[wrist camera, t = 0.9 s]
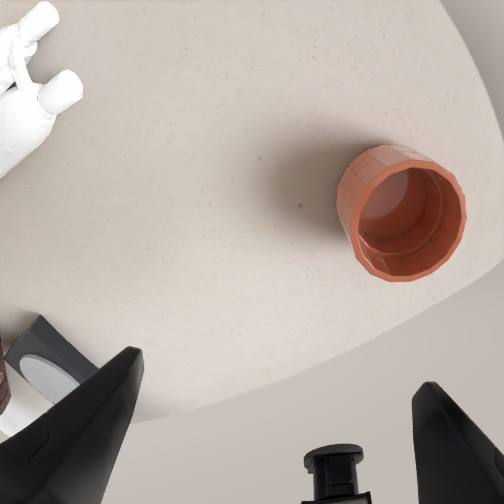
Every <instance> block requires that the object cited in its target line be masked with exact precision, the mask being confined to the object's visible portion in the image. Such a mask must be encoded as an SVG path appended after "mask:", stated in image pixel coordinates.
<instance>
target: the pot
mask: <svg viewBox="0 0 504 504" xmlns="http://www.w3.org/2000/svg"><path fill="white" fill-rule="evenodd" d="M336 209H337V212H338V215H339V219H340V222H341V225H342V227H343V229H344V232H345V234H346V236H347V238H348V241H349V243H350V245H351V248H352V250H353V252H354V255H355V257H356V259H357V260H358V261H359V262H360V263H361V264H362V265H363V266H364V268H365V269H366V270H367V271H368V272H369V273H370V274H372V275H374V276H377V277H379V278H381V279H384V280H386V281H389V282H410V281H414V280H416V279H419V278H422V277H424V276H427V275H429V274H431V273H433V272H434V271H435V270H437V269H438V268H439V267H440V266H441V265H443V264H444V263H445V262H446V261H447V260H448V259H449V258H450V257H451V255H452V254H453V252H454V251H455V249H456V247H457V246H458V244H459V243H460V241H461V239H462V235H463V232H464V228H465V224H466V220H467V212H466V202H465V195H464V193H463V191H462V189H461V187H460V185H459V183H458V182H457V180H456V178H455V176H454V175H453V174H452V173H450V172H449V171H447V170H446V169H445V168H443V167H442V166H440V165H439V164H437V163H436V162H434V161H432V160H430V159H429V158H427V157H425V156H423V155H421V154H419V153H417V152H415V151H413V150H412V149H410V148H408V147H405V146H398V145H389V144H386V145H385V144H384V145H381V146H377V147H374V148H371V149H368V150H365V151H364V152H363V153H362V154H360V155H359V156H358V157H357V158H356V159H355V160H354V161H352V162H351V163H350V164H349V165H348V166H347V168H346V170H345V172H344V174H343V176H342V178H341V180H340V182H339V184H338V187H337V198H336Z"/></svg>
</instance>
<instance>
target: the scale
mask: <svg viewBox="0 0 504 504" xmlns="http://www.w3.org/2000/svg"><path fill="white" fill-rule="evenodd" d="M3 359H4V360H5V361H6V362H7V363H8V364H9V365H10V366H11V367H12V368H13V369H14V370H15V371H16V372H18V373H19V374H20V375H21V376H22V377H23V378H24V379H25V380H26V381H27V382H28V383H30V384H31V386H32V387H33V388H34V389H35V390H36V391H38V392H39V393H40V394H41V395H42V396H44V397H45V398H46V399H48V400H49V401H51V402H52V403H53V404H56V403H58V402H59V401H60V400H61V399H63V398H64V397H65V396H66V395H68V394H69V393H70V392H71V391H73V390H74V389H75V388H76V387H78V386H79V385H80V384H81V383H83V382H84V381H85V380H86V379H88V378H89V377H90V376H91V375H92V374H94V373H95V372H96V371H97V370H99V369H98V368H97V367H95V366H94V365H93V364H92V363H91V362H90V361H88V360H87V359H86V358H85V357H84V356H83V355H82V354H81V353H79V352H78V351H77V350H76V349H75V348H74V347H73V346H72V345H71V344H70V343H69V342H67V341H66V340H65V339H64V338H63V337H62V336H61V335H60V334H59V333H58V332H57V331H56V330H55V329H54V328H53V327H52V326H51V325H50V324H49V323H48V322H47V321H46V320H45V319H44V318H43V317H42V316H41V315H40V316H39V317H38V318H37V319H36V320H35V321H34V322H33V323H32V324H31V325H30V326H29V328H28V329H27V330H26V331H25V332H24V333H23V334H22V335H21V336H20V337H19V338H18V340H17V341H16V342H15V343H14V344H13V345H12V346H11V348H10V349H9V350H8V352H7V353H6V355H5V356H4V357H3Z"/></svg>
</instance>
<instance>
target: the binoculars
mask: <svg viewBox="0 0 504 504" xmlns="http://www.w3.org/2000/svg"><path fill="white" fill-rule="evenodd" d="M58 22H59V15H58V12H57V10H56V9H55V8H54V7H53V6H52V5H51V4H50V3H48V2H45V1H42V2H39V3H38V4H37V5H36V6H35V7H34V8H33V9H32V10H30V11H29V12H28V13H27V14H26V15H24V16H23V17H22V18H21V20H20V22H19V23H18V24H13V25H9V26H5V27H2V28H1V29H0V179H1V178H2V177H3V176H4V175H5V174H6V173H8V172H9V171H10V170H11V169H12V168H13V167H14V166H16V165H17V164H18V163H19V162H20V161H21V160H23V159H24V158H25V157H26V156H27V155H29V154H30V153H31V152H32V151H34V150H35V149H36V148H37V147H39V146H40V145H41V144H42V143H43V142H44V141H45V140H46V138H47V137H48V135H49V134H50V132H51V131H52V128H53V126H54V123H55V120H56V117H57V114H61V113H62V112H64V111H65V110H66V109H67V108H68V107H70V106H71V105H73V104H74V103H76V102H77V101H78V100H80V99H81V98H82V96H83V86H82V83H81V81H80V79H79V78H78V76H77V75H76V74H75V73H74V72H72V71H70V70H63V71H61V72H60V73H59V74H58V75H56V76H55V77H54V78H52V79H51V80H50V81H49V82H47V83H46V84H44V85H43V84H38V83H33V82H32V80H31V79H30V77H29V74H28V71H27V69H26V66H27V64H28V63H29V61H30V60H31V58H32V56H33V55H34V53H35V52H36V50H37V41H38V40H39V39H41V38H42V37H43V36H44V35H45V34H46V33H47V32H48V31H50V30H51V29H52V28H53V27H54V26H56V25H57V24H58ZM14 82H16V84H17V86H15V87H13V88H11V89H9V90H7V89H8V88H9V87H10V86H11V85H12V84H13V83H14ZM6 90H7V91H6Z"/></svg>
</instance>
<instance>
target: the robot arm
mask: <svg viewBox="0 0 504 504" xmlns="http://www.w3.org/2000/svg"><path fill="white" fill-rule="evenodd" d="M143 373H144V361H143V354H142V350H141V349H139V348H136V347H132V346H128V347H126V348H125V349H124V350H122V351H121V352H120V353H119V354H117V355H116V356H115V357H114V358H112V359H111V360H110V361H109V362H107V363H106V364H105V365H104V366H102V367H101V368H100V369H99V370H97V371H96V372H95V373H94V374H92V375H91V376H90V377H89V378H88V379H86V380H85V381H84V382H83V383H81V384H80V385H79V386H78V387H76V388H75V389H74V390H73V391H71V392H70V393H69V394H68V395H66V396H65V397H64V398H63V399H61V400H60V401H59V402H58V403H56V404H55V405H54V406H53V407H51V408H50V409H49V410H48V411H47V413H44V414H43V415H41V416H40V417H39V418H38V419H36V420H35V421H34V422H32V423H31V424H30V425H28V426H27V427H26V428H24V429H23V430H21V431H20V432H18V433H17V434H15V435H14V436H12V437H10V438H9V439H7V440H6V441H4V442H2V443H1V444H0V504H101V501H102V498H103V495H104V492H105V489H106V487H107V484H108V481H109V478H110V475H111V472H112V470H113V467H114V464H115V461H116V459H117V456H118V453H119V450H120V447H121V445H122V442H123V440H124V437H125V434H126V431H127V429H128V426H129V424H130V421H131V418H132V415H133V412H134V408H135V404H136V400H137V396H138V392H139V388H140V384H141V381H142V377H143ZM412 417H413V442H414V451H415V460H416V470H417V483H418V498H419V504H504V455H503V454H502V453H501V452H500V451H499V449H498V448H497V447H495V445H494V444H493V443H492V442H491V441H490V439H488V437H487V436H486V435H485V434H484V433H483V432H482V431H481V430H480V428H479V427H478V426H477V425H476V424H475V423H474V422H473V421H472V420H471V419H470V418H469V417H468V415H467V414H465V412H464V411H463V410H462V409H461V408H460V407H459V406H458V405H457V404H456V403H455V402H454V401H453V400H452V398H451V397H450V396H449V395H448V394H446V392H445V391H444V390H443V389H442V388H441V387H440V386H439V385H438V384H437V383H436V382H425V383H423V384H422V386H421V387H420V388H419V389H418V391H417V392H416V393H415V395H414V396H413V398H412ZM362 456H363V452H361V451H359V452H349V453H337V454H321V455H314V456H313V458H312V460H311V463H310V465H309V468H308V473H309V474H313V479H314V480H313V482H314V501H302V503H301V504H372V502H371V494H370V491H369V492H366V493H362V494H359V491H358V481H357V472H356V464H357V463H358V461H359V460H360V458H361V457H362Z"/></svg>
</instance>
